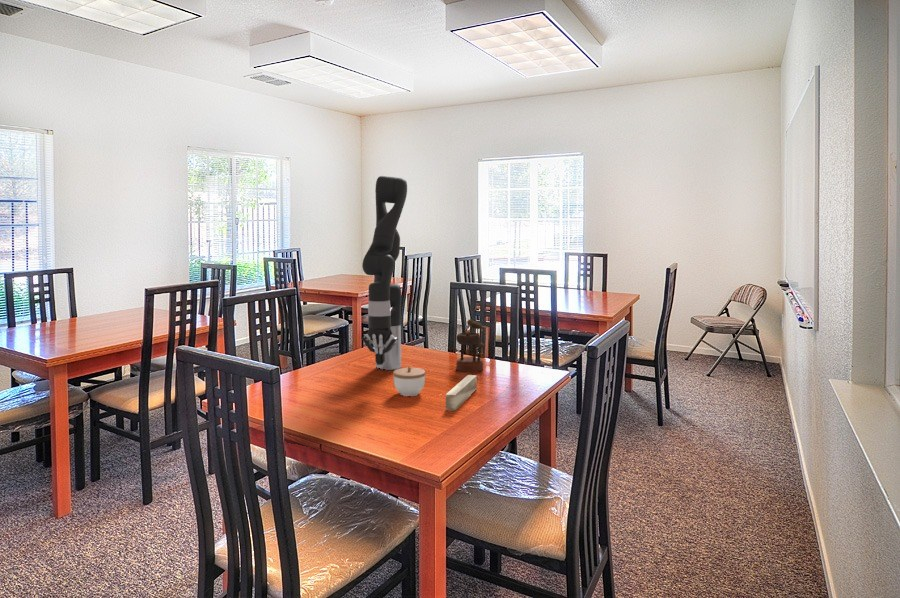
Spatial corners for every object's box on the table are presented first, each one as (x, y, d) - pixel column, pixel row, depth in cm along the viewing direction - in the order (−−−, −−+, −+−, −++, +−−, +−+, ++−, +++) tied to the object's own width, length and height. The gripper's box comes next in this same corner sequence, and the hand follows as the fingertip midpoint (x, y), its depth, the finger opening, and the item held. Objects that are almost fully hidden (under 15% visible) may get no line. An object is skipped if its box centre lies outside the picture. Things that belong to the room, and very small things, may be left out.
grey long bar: (445, 410, 177) (445, 394, 177) (468, 388, 200) (468, 374, 199) (455, 411, 176) (455, 395, 176) (476, 389, 199) (476, 375, 198)
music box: (487, 365, 232) (487, 317, 228) (487, 375, 221) (487, 324, 217) (449, 364, 233) (449, 316, 229) (447, 374, 222) (447, 324, 218)
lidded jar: (393, 389, 199) (393, 363, 198) (424, 388, 200) (424, 362, 198) (393, 399, 188) (392, 371, 187) (426, 398, 189) (426, 370, 188)
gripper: (356, 314, 192) (357, 365, 194) (393, 316, 188) (393, 368, 190) (366, 311, 199) (367, 360, 201) (402, 313, 195) (402, 363, 197)
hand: (380, 364), depth 196 cm, fingers closed
